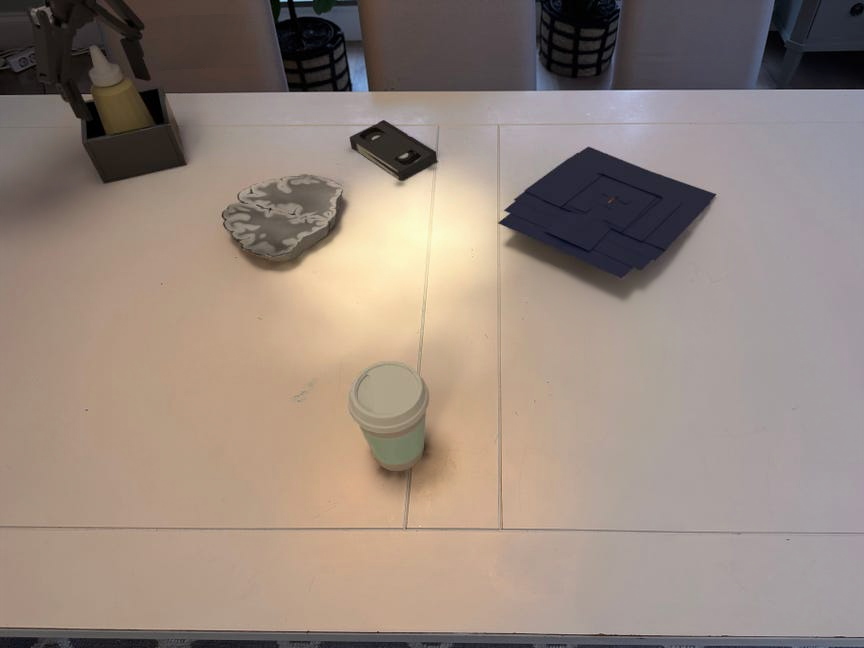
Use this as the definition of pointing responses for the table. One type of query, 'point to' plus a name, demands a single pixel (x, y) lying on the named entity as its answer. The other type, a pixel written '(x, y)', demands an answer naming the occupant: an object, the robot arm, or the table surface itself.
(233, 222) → the brain slice
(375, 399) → the coffee cup
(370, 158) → the vhs tape
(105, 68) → the squeeze bottle
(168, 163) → the box
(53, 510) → the table surface
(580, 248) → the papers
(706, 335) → the table surface
